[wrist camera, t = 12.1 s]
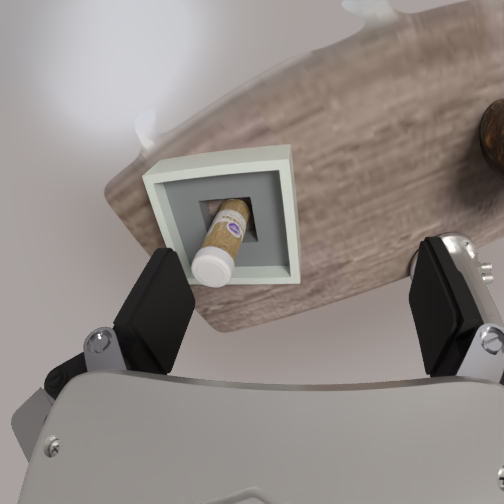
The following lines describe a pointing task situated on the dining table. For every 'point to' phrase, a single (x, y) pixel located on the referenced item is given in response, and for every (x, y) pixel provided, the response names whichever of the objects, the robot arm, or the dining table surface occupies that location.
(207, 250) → the sprinkles bottle
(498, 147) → the jar
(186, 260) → the open box
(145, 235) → the dining table surface
